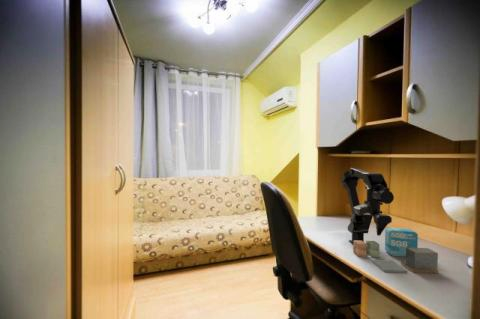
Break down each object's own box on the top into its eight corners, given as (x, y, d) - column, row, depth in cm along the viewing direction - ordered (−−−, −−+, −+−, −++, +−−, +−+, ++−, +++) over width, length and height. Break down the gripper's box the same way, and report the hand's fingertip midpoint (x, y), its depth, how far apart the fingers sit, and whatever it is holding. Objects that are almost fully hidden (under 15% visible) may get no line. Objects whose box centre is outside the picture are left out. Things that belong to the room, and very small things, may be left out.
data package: (388, 255, 107) (389, 230, 107) (384, 251, 111) (385, 227, 111) (417, 258, 104) (418, 232, 104) (412, 254, 108) (412, 229, 108)
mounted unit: (401, 264, 97) (401, 245, 97) (424, 265, 97) (425, 246, 97) (413, 272, 90) (413, 252, 90) (438, 273, 90) (439, 253, 90)
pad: (371, 261, 99) (371, 259, 99) (392, 262, 99) (392, 260, 99) (384, 272, 90) (384, 270, 90) (407, 272, 90) (407, 270, 90)
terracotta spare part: (353, 252, 109) (353, 240, 109) (361, 252, 109) (361, 240, 109) (357, 256, 105) (357, 243, 105) (366, 256, 105) (366, 243, 105)
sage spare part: (365, 253, 109) (366, 240, 109) (374, 253, 109) (374, 240, 109) (370, 256, 105) (370, 243, 105) (379, 256, 105) (379, 244, 105)
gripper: (347, 195, 116) (346, 225, 116) (367, 203, 97) (366, 238, 98) (369, 196, 116) (368, 226, 116) (393, 203, 97) (392, 239, 97)
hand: (372, 232), depth 107 cm, fingers open, 9 cm apart
